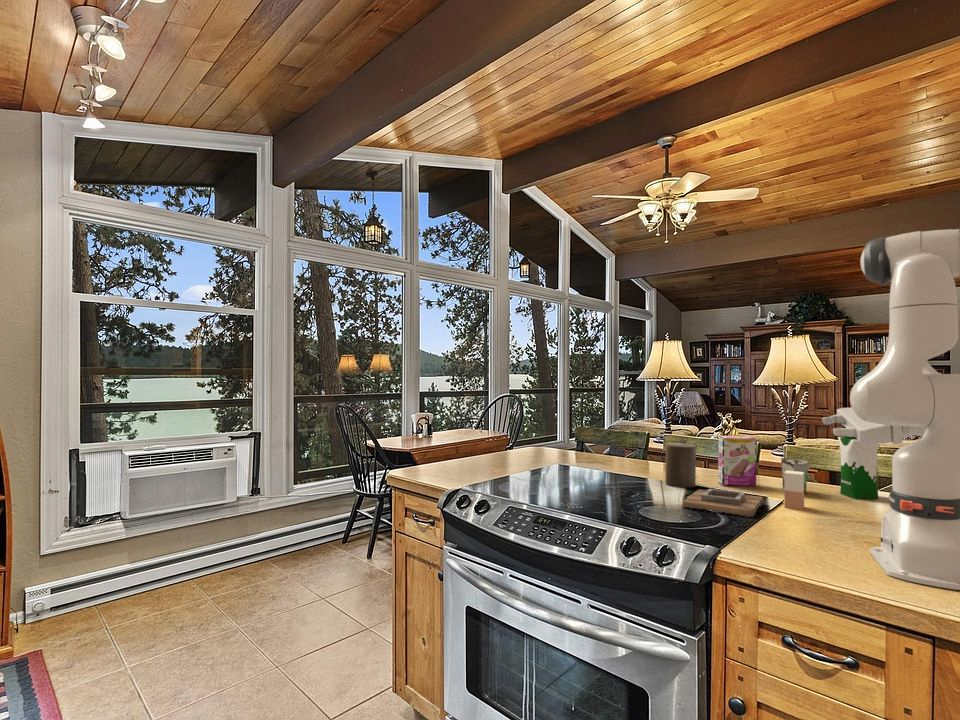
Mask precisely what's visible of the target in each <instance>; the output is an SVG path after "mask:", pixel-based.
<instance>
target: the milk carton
mask: <svg viewBox="0 0 960 720" xmlns="http://www.w3.org/2000/svg"><path fill="white" fill-rule="evenodd" d="M837 439H838V443H839V449H840V490H839V491H840V492H839V494H840V495H844V496H846V497H850V498H851V499H855V500H879V490H878V489H879V488H878V449H879V444H880V443H862V442H860V441H859V440H858V439H857V438H856V437H848V436H837Z"/></svg>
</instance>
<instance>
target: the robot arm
mask: <svg viewBox="0 0 960 720" xmlns="http://www.w3.org/2000/svg"><path fill="white" fill-rule="evenodd" d="M859 262H860V268H861V271H862V273H863V275H864V276H865V278H866V280H869V281H870V282H872V283H875V284H880V285H881V287H882V286H883V287H886V284H888V283H890V288H889V289H890V290H889V301H888V302H889V304H888V306H889V307H888V308H889V311H888V312H889V313H888V314H889V323H888V324H889V328H888V329H889V330H888V341H887V345H886V346H887V347H886V349H885V352H884V354H883V356H882V358H881V359H880V361H879V362H878V364H877V365H876V366H875V367H874V368H873V369H872V370H871V371H869V372H868V373H866V374H864V375H863V376H862V377H860V378H859V379H857V381H856V382H855V383H854V385H853V386H852V388H851V390H850V395H849V403H850V407H841V408H837V409H836V414H834V415H830V416H824V417H822V419H821V420H822V423H823V424H824V425H826V426H827V425H832V424H834V423H836V424H841V425H842V426H843V428H842V427H833V428H832V434H833V435H834V436H836V437H844V436H848V437H856V438H857V439H858V440H859V441H860V442H862V443H879V444H889V443H892V444H894V445H901V444H903V442H904V438H908V437H913V436H921V438H919V439H918V440H917V441H913V442H911V443H908V444H904V445H902V447H899V448H898V449H897V450H896V451H895V452H894V454H893V455H892V458H891V463H892V464H891V469H892V470H891V473H892V475H891V476H892V478H891V480H892V481H891V484H892V488H891V489H890V490H889V496H888V499H889V507H890V509H889V510H888V511H887V512H885V513H884V514H882V515H881V527H880V529H881V535H880V536H881V537H880V543H881V546H872V547H871V548H870V554H871V555H872V556H873V559H875V560H876V562H877V563H878V564H879V566H880V567H881V568H882V570H883V571H884V572H885V574H887V575H888V576H890V577H894V578H897V579H899V580H902V581H903V580H904V581H907V582H912V583H915V584H916V583H917V584H920V585H921V584H922V585H927V586H931V587H936V588H944V589H949V590H956V591H960V373H939V372H938V370H936V369H935V368H933V367H932V365H931V364H930V363H929V361H928V360H931V359H933V358H936V357H938V356H940V355H943V354H945V353H946V352H948V351H950V350H952V349H953V347H955V345H956V344H957V342H958V340H959V322H958V321H959V320H958V319H959V318H958V317H959V316H958V313H959V311H958V295H957V288H956V282H955V278H960V227H959V228H955V229H954V228H953V229H951V228H950V229H934V230H926V231H925V230H924V231H921V230H919V231H918V230H916V231H911V232H905V233H900V234H897V235H891V236H887V237H885V236H881V237H878V238H875V239H872V240H869V241H868V242H867V243H866V245H864V248H863V250H862V252H861V256H860V261H859Z"/></svg>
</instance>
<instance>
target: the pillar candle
mask: <svg viewBox="0 0 960 720" xmlns="http://www.w3.org/2000/svg"><path fill="white" fill-rule="evenodd" d="M696 448H697V447H696V445H695V444H692V443H684V442H683V443H682V442H681V441H679V442H668V443H665V484H666V485H667V484H668V485H667V486H670V485H671V487H674V486H678V487H677V488H695V487H696V483H697V482H696V477H697V476H696V472H697V471H696V468H697V467H696V465H697V464H696V463H697V462H696V458H697V455H696V451H697V449H696Z"/></svg>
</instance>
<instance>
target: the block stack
mask: <svg viewBox="0 0 960 720" xmlns="http://www.w3.org/2000/svg"><path fill="white" fill-rule="evenodd" d="M783 490H784V494H783V495H784V509H789V510H790V509H792V510H797V511H798V510H799V511H804V509H805V494H804V472H798V471H787V470H786V471H785V473H784V489H783ZM803 508H804V509H803Z"/></svg>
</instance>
